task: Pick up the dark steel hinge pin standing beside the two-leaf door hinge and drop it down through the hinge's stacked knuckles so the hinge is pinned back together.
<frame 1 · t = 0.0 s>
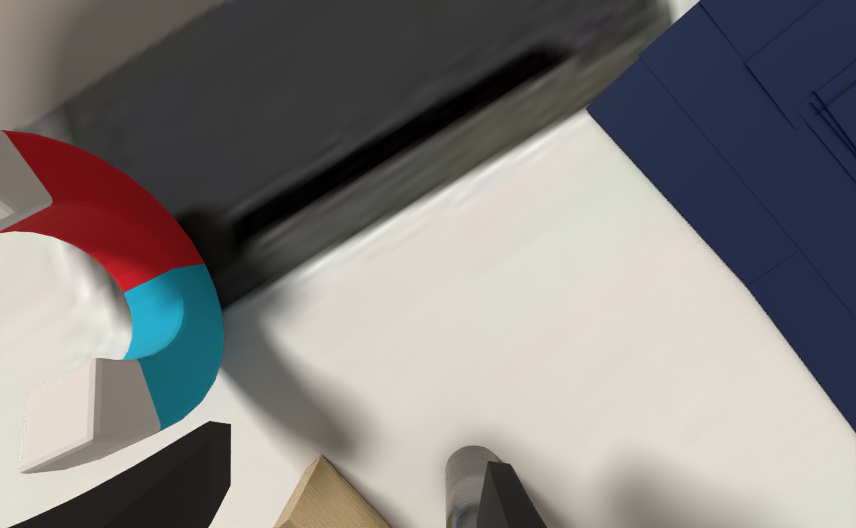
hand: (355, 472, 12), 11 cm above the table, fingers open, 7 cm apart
magnet: (186, 273, 22), on the table
hinge pin: (473, 472, 23), on the table
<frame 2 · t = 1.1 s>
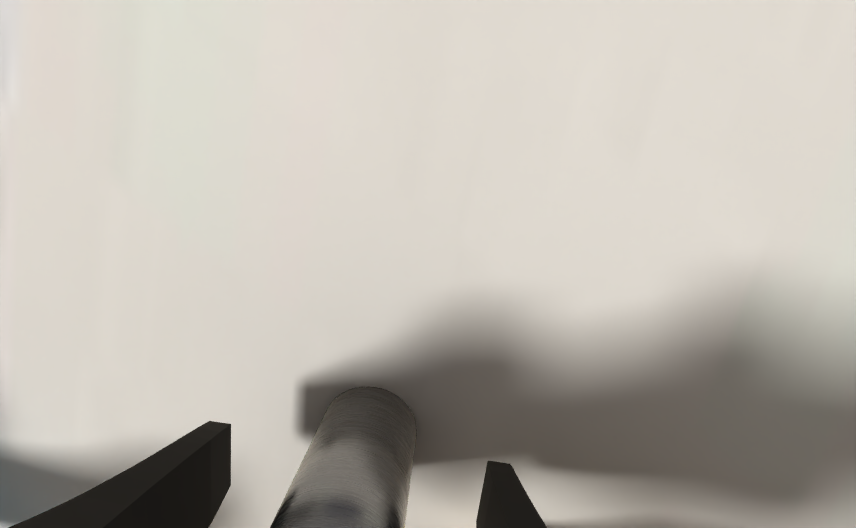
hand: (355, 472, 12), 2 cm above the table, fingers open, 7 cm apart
hinge pin: (370, 428, 14), on the table
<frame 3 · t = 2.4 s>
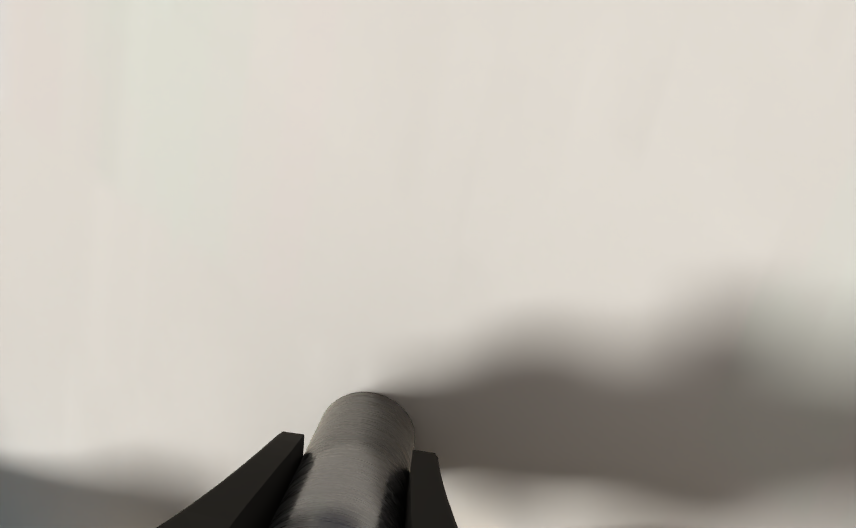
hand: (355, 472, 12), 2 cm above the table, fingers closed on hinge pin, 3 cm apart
hinge pin: (366, 435, 13), on the table, touching gripper
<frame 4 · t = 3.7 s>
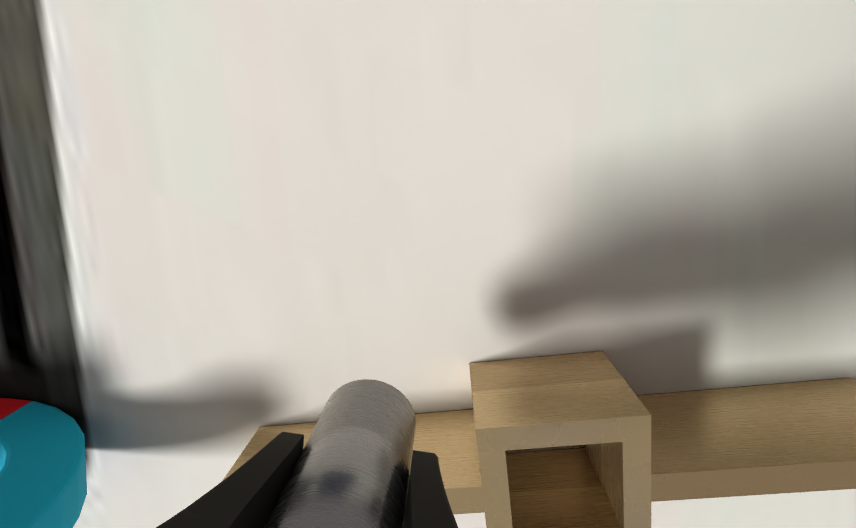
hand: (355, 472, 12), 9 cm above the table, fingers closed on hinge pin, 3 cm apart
hinge: (539, 414, 21), on the table
magnet: (40, 419, 23), on the table
hinge pin: (369, 421, 14), point 7 cm above the table, touching gripper
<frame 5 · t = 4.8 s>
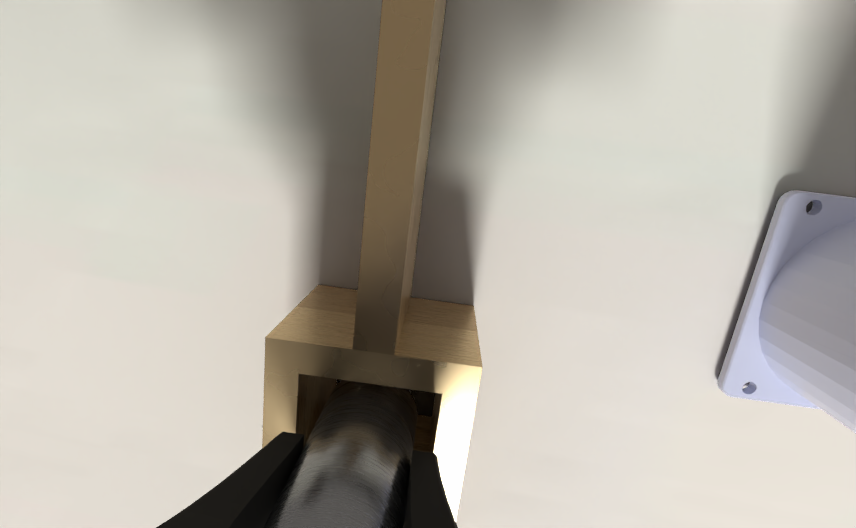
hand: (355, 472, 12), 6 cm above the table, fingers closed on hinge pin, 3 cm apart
hinge: (387, 365, 18), on the table
hinge pin: (371, 414, 14), point 4 cm above the table, touching gripper
when the fingers open (6 cm above the table, at t = 5.5 s): hinge pin drops 4 cm, resting in hinge.
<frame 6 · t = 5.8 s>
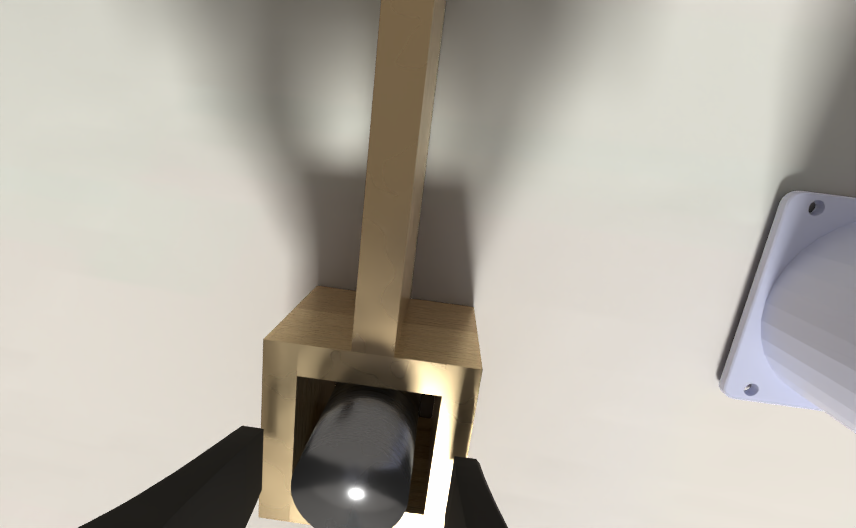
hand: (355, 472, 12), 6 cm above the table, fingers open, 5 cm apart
hinge: (387, 367, 18), on the table
hinge pin: (388, 361, 18), resting in hinge
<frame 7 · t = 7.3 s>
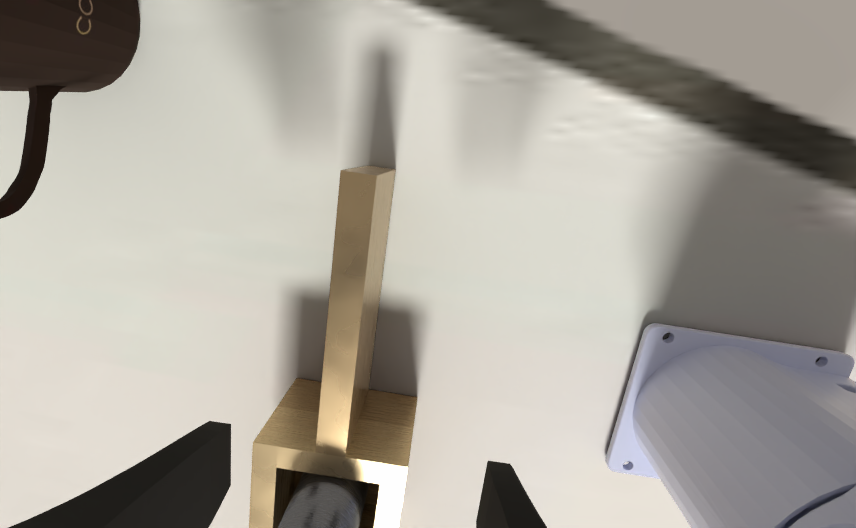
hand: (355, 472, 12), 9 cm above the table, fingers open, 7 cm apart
hinge: (351, 439, 23), on the table
coffee mug: (70, 50, 19), on the table
hinge pin: (351, 435, 22), resting in hinge
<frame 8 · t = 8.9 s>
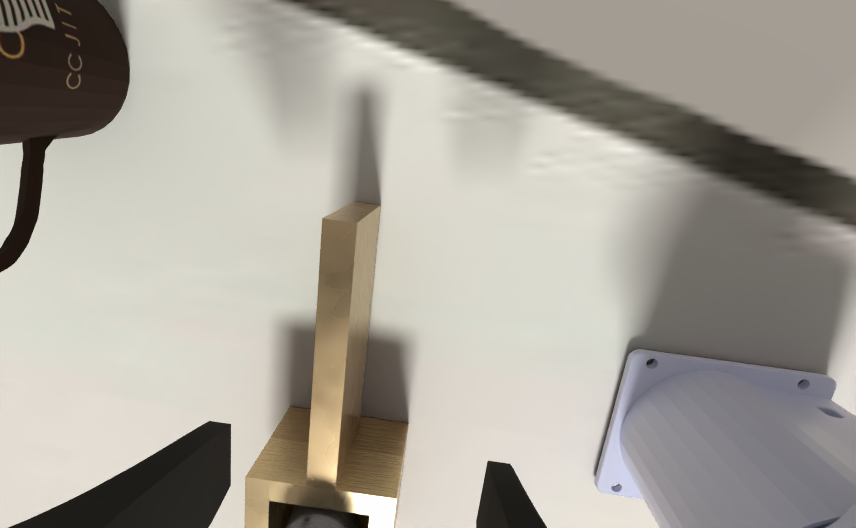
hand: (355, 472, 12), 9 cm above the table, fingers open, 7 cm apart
hinge: (344, 465, 23), on the table
coffee mug: (63, 97, 19), on the table
hinge pin: (345, 461, 23), resting in hinge
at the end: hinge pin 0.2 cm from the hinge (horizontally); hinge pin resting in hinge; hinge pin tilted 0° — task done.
